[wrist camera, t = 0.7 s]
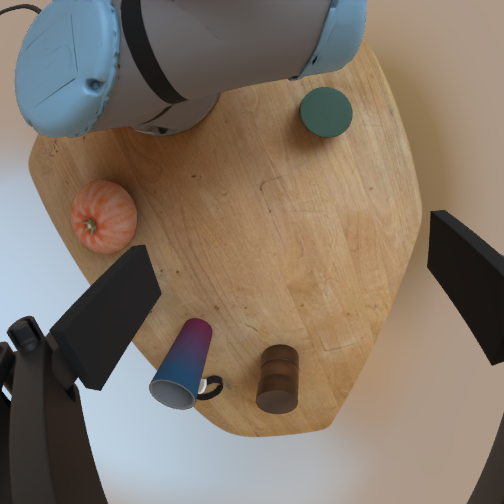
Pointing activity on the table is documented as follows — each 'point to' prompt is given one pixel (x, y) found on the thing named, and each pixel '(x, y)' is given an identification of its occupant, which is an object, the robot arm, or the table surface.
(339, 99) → the green cylinder
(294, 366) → the brown jar
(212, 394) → the watch
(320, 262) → the table surface
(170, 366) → the cup
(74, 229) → the tomato
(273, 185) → the table surface
